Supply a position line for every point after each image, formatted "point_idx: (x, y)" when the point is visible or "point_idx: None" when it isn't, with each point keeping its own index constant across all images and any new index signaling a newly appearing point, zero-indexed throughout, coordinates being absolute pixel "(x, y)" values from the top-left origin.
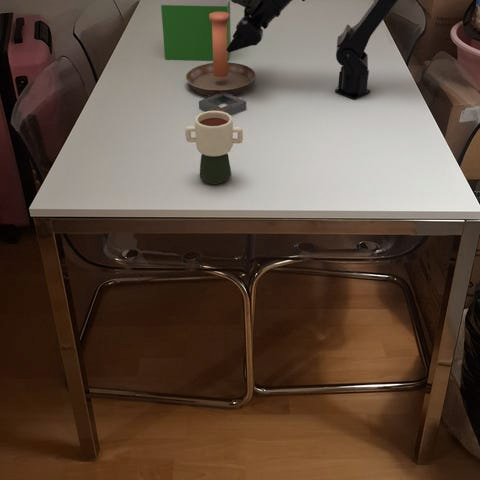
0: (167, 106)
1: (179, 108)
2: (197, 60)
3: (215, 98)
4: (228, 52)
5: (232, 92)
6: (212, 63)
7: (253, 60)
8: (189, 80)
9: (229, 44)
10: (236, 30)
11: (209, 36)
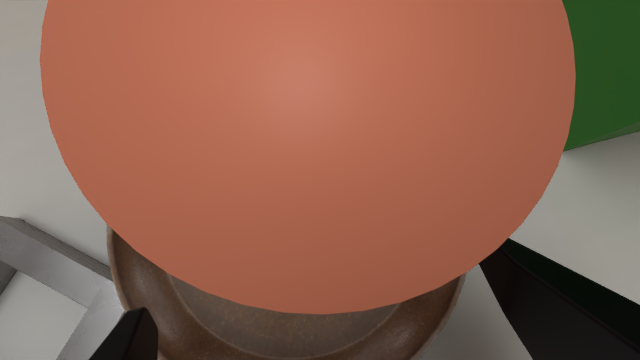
0: (17, 81)
1: (7, 135)
2: None
3: (43, 282)
4: (604, 137)
5: (167, 327)
6: None
7: (622, 258)
8: None
9: (110, 356)
10: (534, 276)
11: (625, 9)
